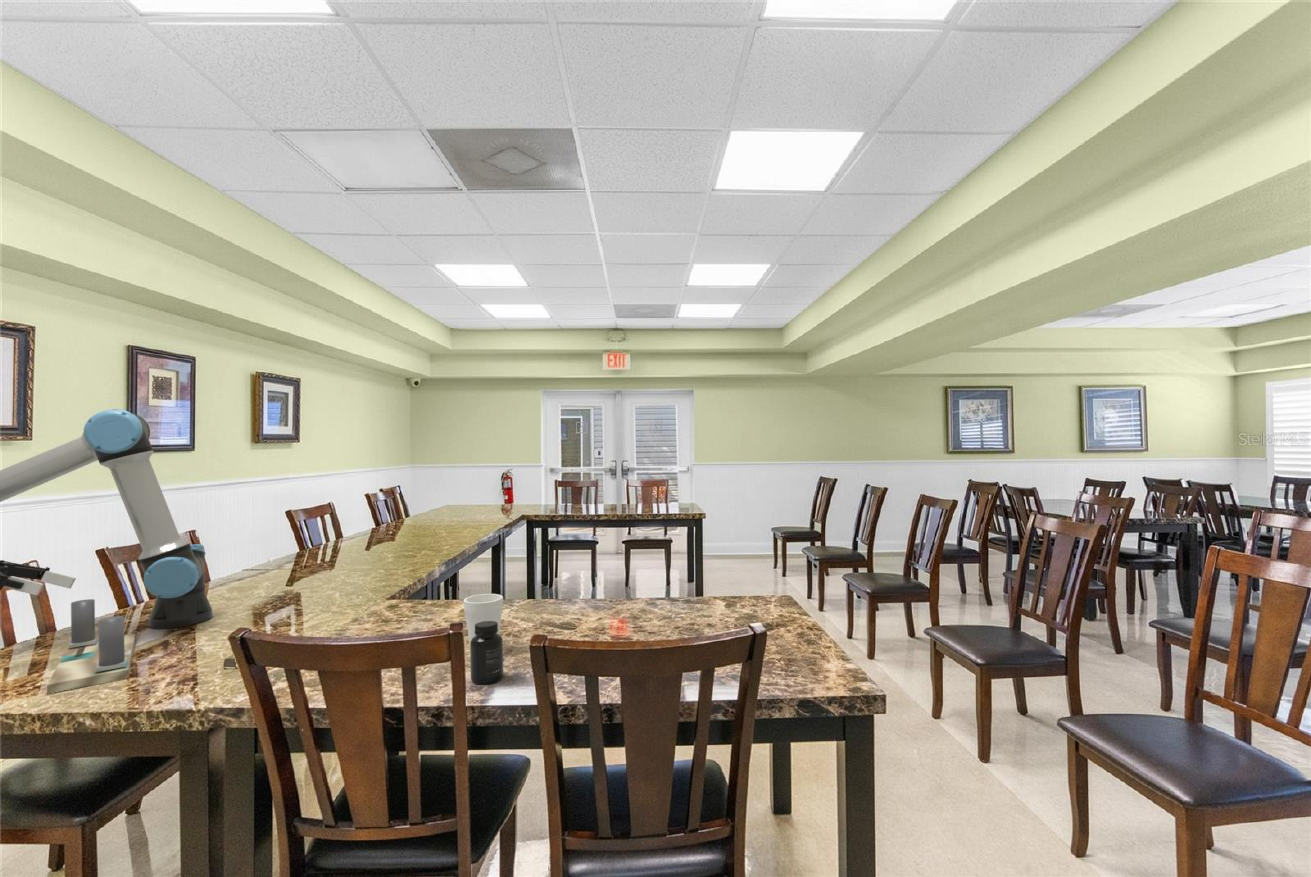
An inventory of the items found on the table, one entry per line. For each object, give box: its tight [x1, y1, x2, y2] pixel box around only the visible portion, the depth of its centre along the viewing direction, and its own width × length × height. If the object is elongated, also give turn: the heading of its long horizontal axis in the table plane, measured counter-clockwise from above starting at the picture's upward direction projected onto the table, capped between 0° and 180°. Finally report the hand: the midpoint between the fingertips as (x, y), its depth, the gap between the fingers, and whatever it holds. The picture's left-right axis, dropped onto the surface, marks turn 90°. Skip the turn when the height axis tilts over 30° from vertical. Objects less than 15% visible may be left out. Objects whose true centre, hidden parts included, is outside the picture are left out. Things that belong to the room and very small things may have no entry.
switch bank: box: [46, 633, 137, 695], centre depth 146 cm, size 13×36×2 cm, turn 39°
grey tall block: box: [96, 615, 127, 672], centre depth 137 cm, size 5×5×11 cm
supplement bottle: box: [469, 621, 504, 686], centre depth 131 cm, size 7×7×12 cm
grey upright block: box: [68, 598, 98, 648], centre depth 155 cm, size 5×5×11 cm
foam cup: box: [462, 593, 504, 644], centre depth 149 cm, size 10×9×13 cm
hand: (57, 586), depth 153 cm, fingers open, 13 cm apart
